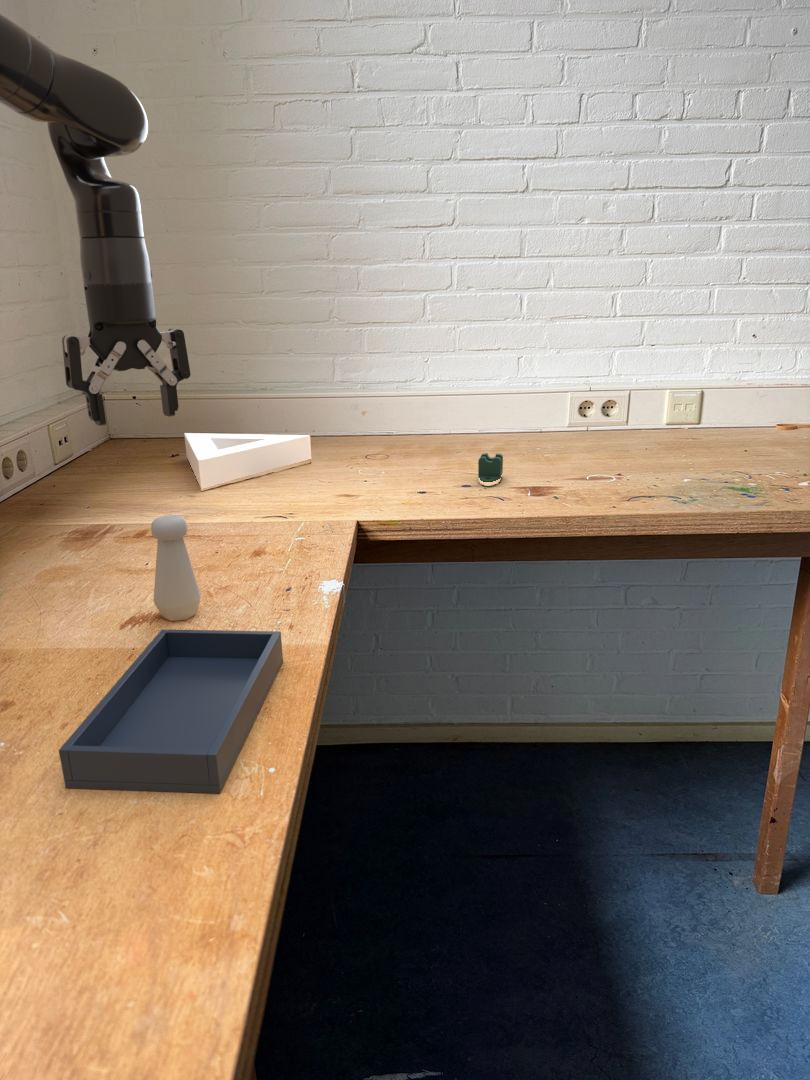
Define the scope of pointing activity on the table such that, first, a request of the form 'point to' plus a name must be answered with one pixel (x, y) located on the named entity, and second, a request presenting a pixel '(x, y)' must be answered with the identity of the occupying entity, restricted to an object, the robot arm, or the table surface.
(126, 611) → the table surface
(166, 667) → the dark blue tray
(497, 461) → the mount
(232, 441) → the triangle block
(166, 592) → the salt shaker
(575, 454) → the table surface
